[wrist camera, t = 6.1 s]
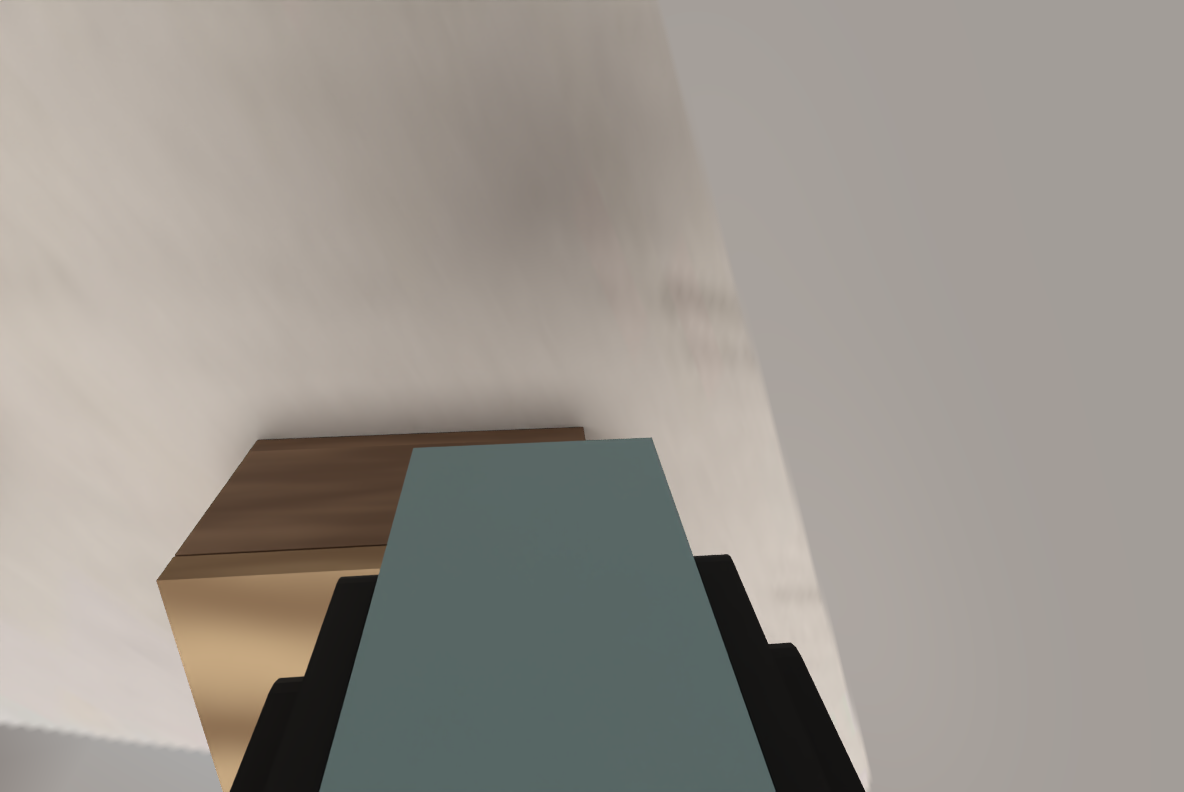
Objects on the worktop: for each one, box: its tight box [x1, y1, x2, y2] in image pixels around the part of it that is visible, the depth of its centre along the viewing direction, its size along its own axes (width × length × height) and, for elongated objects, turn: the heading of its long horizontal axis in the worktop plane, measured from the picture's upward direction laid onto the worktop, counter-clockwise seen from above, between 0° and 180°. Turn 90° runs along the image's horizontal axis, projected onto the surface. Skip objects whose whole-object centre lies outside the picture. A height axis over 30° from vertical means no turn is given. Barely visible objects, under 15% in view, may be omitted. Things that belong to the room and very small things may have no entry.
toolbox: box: [175, 427, 585, 557], centre depth 31 cm, size 15×14×8 cm
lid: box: [157, 546, 386, 792], centre depth 25 cm, size 15×14×4 cm
